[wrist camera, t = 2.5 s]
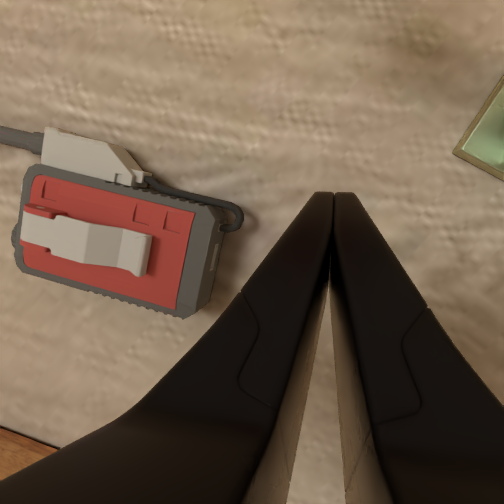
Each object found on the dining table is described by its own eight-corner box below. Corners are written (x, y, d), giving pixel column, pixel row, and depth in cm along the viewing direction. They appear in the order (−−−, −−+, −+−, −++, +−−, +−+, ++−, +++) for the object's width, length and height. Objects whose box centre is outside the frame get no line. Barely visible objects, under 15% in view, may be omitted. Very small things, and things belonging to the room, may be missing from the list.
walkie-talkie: (258, 175, 21) (-37, 107, 24) (242, 168, 17) (-115, 87, 20) (225, 317, 23) (-49, 238, 26) (203, 344, 18) (-124, 245, 21)
